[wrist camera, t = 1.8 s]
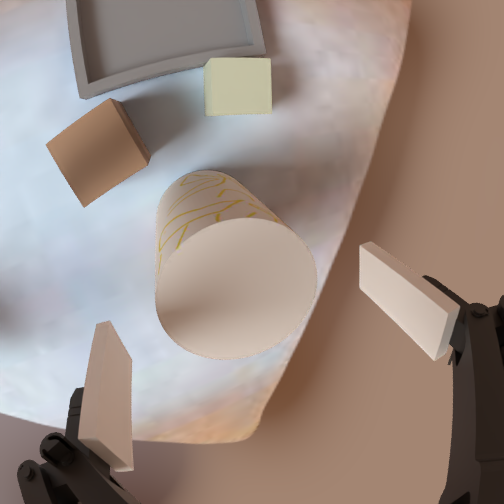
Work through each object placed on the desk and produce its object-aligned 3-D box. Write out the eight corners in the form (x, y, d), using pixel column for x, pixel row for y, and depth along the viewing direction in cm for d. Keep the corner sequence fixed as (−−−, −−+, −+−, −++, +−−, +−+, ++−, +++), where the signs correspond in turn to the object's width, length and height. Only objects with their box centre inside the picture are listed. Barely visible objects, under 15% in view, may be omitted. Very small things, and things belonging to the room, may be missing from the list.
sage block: (203, 67, 20) (210, 57, 16) (253, 66, 21) (270, 58, 17) (204, 116, 22) (212, 115, 18) (255, 113, 23) (271, 113, 19)
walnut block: (67, 138, 19) (45, 144, 15) (120, 102, 19) (109, 97, 15) (98, 189, 22) (83, 207, 17) (151, 155, 22) (147, 165, 17)
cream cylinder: (252, 167, 24) (324, 211, 14) (252, 256, 28) (308, 343, 17) (151, 175, 22) (142, 228, 12) (162, 268, 26) (170, 369, 15)
